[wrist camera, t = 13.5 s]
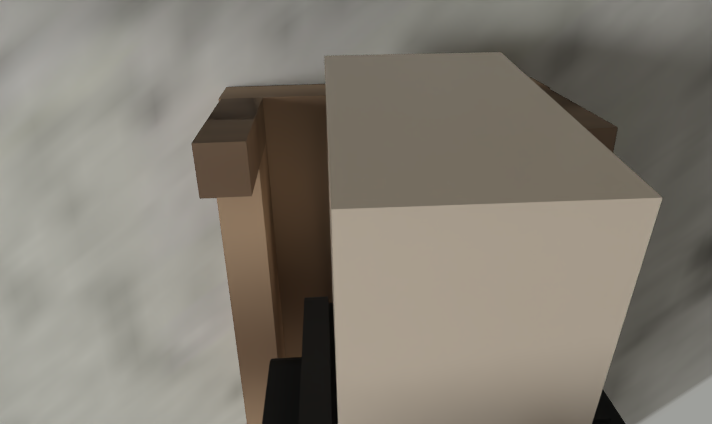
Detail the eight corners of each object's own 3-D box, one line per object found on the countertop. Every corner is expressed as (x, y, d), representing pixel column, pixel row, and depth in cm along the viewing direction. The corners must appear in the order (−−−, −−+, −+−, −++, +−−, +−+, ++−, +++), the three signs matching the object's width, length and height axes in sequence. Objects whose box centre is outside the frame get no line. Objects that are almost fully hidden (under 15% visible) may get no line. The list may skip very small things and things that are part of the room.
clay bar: (324, 56, 11) (331, 209, 6) (500, 52, 11) (662, 196, 6) (339, 490, 18) (348, 735, 13) (446, 484, 18) (498, 722, 13)
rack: (226, 87, 13) (189, 143, 9) (531, 77, 14) (620, 127, 10) (263, 406, 17) (248, 540, 13) (495, 391, 18) (547, 516, 14)
